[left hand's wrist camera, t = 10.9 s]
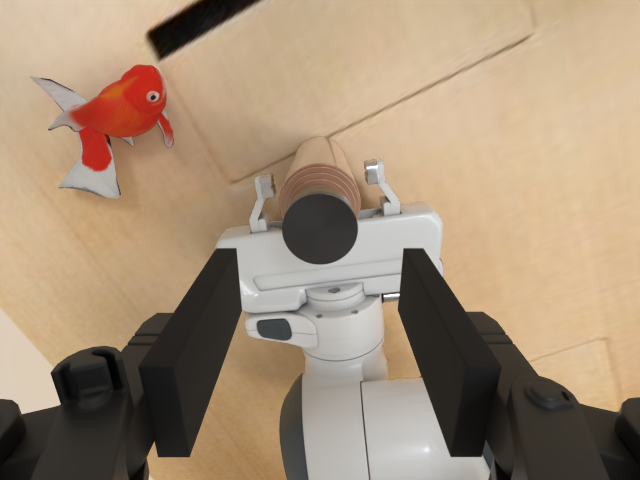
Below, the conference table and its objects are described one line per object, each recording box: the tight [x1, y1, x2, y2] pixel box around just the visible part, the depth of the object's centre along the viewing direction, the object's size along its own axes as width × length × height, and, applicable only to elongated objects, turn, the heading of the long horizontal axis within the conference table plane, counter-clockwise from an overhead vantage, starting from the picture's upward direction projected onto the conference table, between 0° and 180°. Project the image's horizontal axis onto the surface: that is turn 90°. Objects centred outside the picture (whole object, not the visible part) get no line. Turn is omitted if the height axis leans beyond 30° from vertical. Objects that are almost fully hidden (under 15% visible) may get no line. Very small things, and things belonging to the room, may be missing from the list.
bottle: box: [279, 137, 361, 219], centre depth 29 cm, size 5×5×19 cm
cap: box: [282, 186, 358, 265], centre depth 20 cm, size 4×4×2 cm
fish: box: [30, 65, 173, 199], centre depth 33 cm, size 11×16×10 cm
